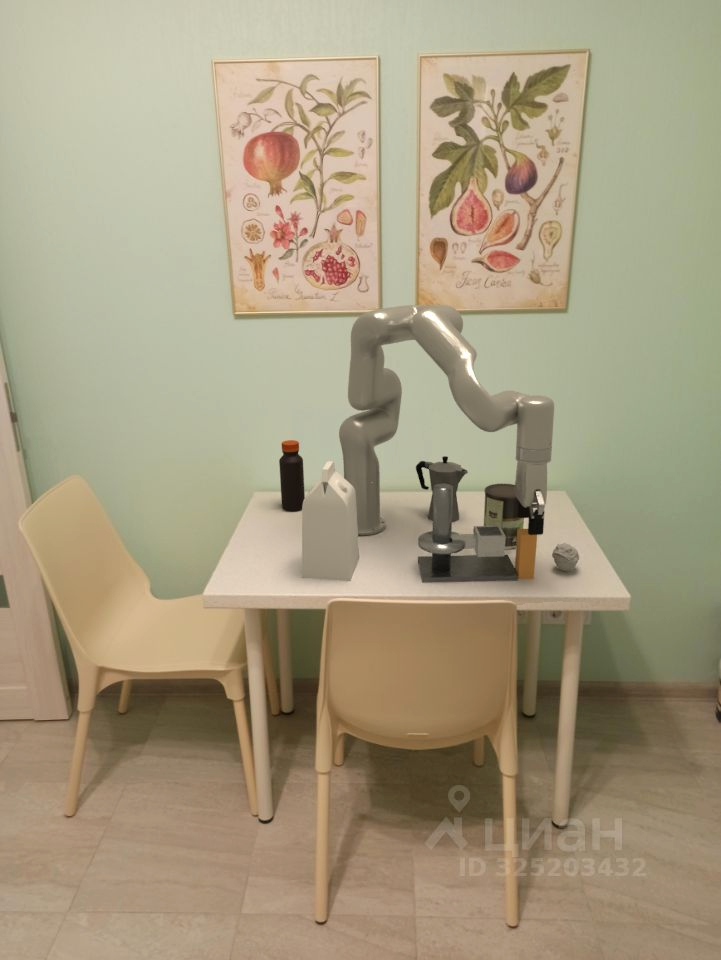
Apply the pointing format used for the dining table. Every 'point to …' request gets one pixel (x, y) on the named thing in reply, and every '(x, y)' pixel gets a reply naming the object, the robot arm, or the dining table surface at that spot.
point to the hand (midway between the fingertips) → (529, 525)
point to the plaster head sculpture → (565, 556)
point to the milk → (330, 528)
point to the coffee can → (503, 511)
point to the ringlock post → (461, 548)
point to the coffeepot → (442, 480)
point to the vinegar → (291, 477)
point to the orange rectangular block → (525, 554)
